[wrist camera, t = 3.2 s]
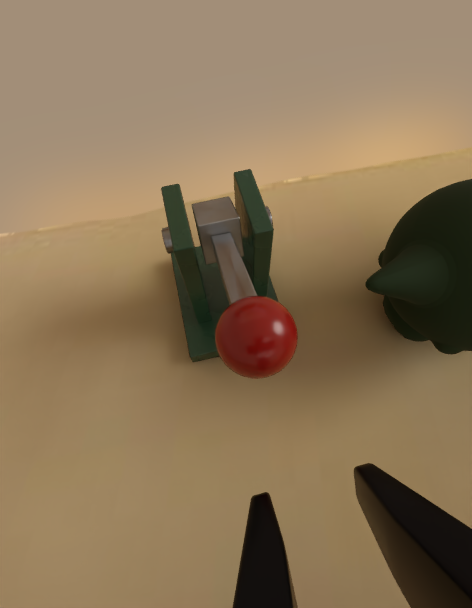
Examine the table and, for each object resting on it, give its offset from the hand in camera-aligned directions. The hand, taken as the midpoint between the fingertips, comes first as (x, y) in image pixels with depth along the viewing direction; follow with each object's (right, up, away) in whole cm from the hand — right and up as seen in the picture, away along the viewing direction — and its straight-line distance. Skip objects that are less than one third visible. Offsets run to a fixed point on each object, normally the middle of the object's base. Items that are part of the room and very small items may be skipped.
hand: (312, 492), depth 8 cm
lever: (-2, +5, +9) cm, 10 cm away
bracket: (-3, +5, +18) cm, 19 cm away
